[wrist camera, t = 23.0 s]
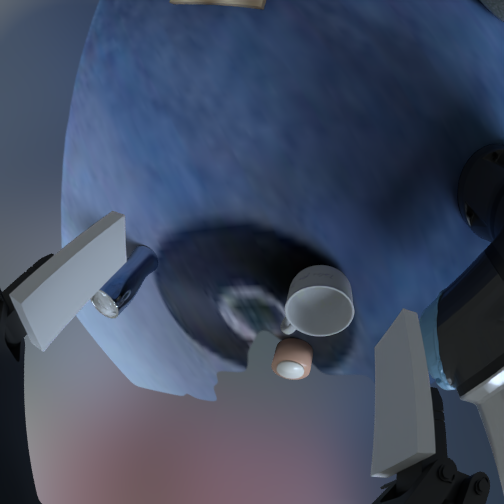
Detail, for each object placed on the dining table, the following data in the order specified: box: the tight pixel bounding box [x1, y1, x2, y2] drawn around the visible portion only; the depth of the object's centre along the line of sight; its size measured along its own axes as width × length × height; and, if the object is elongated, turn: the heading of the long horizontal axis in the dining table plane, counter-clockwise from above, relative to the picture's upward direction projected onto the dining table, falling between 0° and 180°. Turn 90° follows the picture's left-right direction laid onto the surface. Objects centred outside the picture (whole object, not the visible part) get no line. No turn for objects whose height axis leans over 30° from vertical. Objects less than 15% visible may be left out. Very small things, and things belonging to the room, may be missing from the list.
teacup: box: [281, 265, 354, 336], centre depth 48 cm, size 14×11×8 cm
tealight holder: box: [272, 338, 313, 380], centre depth 58 cm, size 8×8×6 cm
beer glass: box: [91, 246, 158, 318], centre depth 52 cm, size 7×7×15 cm
